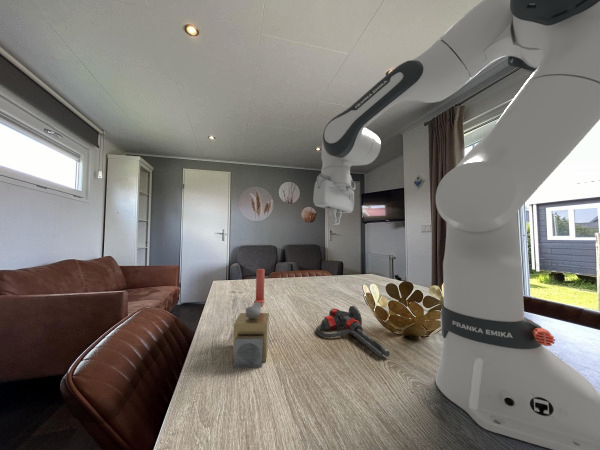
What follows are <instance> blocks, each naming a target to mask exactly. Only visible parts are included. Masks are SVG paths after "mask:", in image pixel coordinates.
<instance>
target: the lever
mask: <svg viewBox="0 0 600 450" xmlns="http://www.w3.org/2000/svg"><path fill="white" fill-rule="evenodd" d="M265 270H266V269H265V268H256V272H255V273H256V277H255V280H256V281H255V299H254V301H253V304H252V305H251V306H249V307H247V308H245V313H246V317H249V318H255V317H259V316H260V313H261V308H262V307H263V306H264V304H265V279H266V278H265V277H266V276H265V273H266V271H265Z"/></svg>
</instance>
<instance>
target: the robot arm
mask: <svg viewBox="0 0 600 450" xmlns="http://www.w3.org/2000/svg"><path fill="white" fill-rule="evenodd" d="M506 57H507V64H508V66H510V67H512V68H517V69H521V70H524V71H525V72H528V73H529V74H531V75H530V76H529V78H528V79H527V80H526V81H525V83H524V84H523V85H522V87H521V88H520V90H519V91H518V92H517V93H516V95H515V96H514V98H512V100H511V102H510V103H508V105H507V107H506V108H505V110H504V111H503V112H502V114H501V116H499V118H498V119H497V120H496V122H495V123H494V125H493V126H492V127H491V128H490V130H488V132H487V133H486V134H485V135H484V136H483V138H481V139H480V140H479V141H478V142H477V144H476V145H474V146H473V148H472V149H471V150H469V152H468V153H467V154H466V155H464V157H463V158H462V159H461V160H460V162H458V163H457V164H456V166H455V167H453V168H452V169H450V171H448V172H447V173H446V174H445V175H444V176H443V177H442V179H441V180H440V181H439V183H438V186H437V187H436V191H435V205H436V210H437V212H438V214H439V215H440V218H442V219H443V220H444V221H445V222H446V233H445V235H446V237H445V246H444V248H445V249H444V256H443V261H442V279H443V281H442V282H443V304H442V305H441V310H440V331H441V336H442V347H441V353H440V354H441V355H440V362H439V365H438V370H437V372H436V374H435V379H434V381H435V384H436V386H437V388H438V390H439V391H440V392H441V393H442V394H443V395H444V396H445V397H446V398H447V399H448V400H450V401H451V402H453V403H454V404H455V405H456V406H458V407H459V408H461V409H462V410H463V411H465V412H466V413H467V414H468V415H469V416H470V417H471V418H472V420H473V421H475V422H476V424H477V425H479V426H480V427H481V428H483V429H484V430H487V431H489V432H492V433H495V434H499V435H502V436H506V437H509V438H513V439H516V440H518V441H519V440H520V441H522V442H526V443H529V444H532V445H537V446H539V447H543V448H546V449H549V450H600V393H599V392H598V390H597V389H596V388H595V387H594V385H593V384H592V383H591V382H590V381H589V380H588V379H587V378H586V377H585V376H584V375H583V374H582V373H580V372H579V371H578V370H576V369H575V368H573V367H572V366H571V365H570V364H569V363H567V362H565V361H564V360H563V359H562V358H560V357H559V356H557V355H556V354H555V353H554V352H553V351H551V350H549V349H548V348H547V347H551V346H552V345H553V344H554V345H555V341H556V339H555V337H554V335H552V333H551V332H550V331H549V330H548V329H545V328H543V327H542V326H541V325H539V323H536V322H534V321H533V320H532V319H529V318H527V317H525V305H524V288H523V287H524V285H523V267H522V265H523V264H522V258H521V246H520V234H519V221H518V211H520V209H521V208H522V207H523V206H524V205H525V203H526V202H527V201H528V200H529V199H530V198H531V197H532V196H533V194H534V193H535V192H536V191H537V190H538V189H539V188H540V186H541V185H542V184H544V183H545V181H546V180H547V179H548V178H549V177H550V176H551V175H552V173H553V172H554V171H556V169H557V168H558V167H559V166H560V165H561V163H562V162H563V161H564V160H565V159H566V158H567V157H568V156H569V155H570V154H571V153H572V151H574V149H575V148H576V147H577V146H578V145H579V144H580V142H581V141H582V140H583V139H584V138H585V137H586V136H587V135H588V133H589V132H590V131H591V130H592V129H593V127H595V126H596V125H597V123H598V122H599V121H600V0H482V1H481V2H479V3H478V4H477V5H476V6H474V7H473V8H472V9H470V11H468V12H466V14H464V15H463V16H461V17H460V19H459V20H458V21H456V22H454V24H453V25H451V26H450V27H449V28H448V29H447V30H446V31H445V32H444V33H443V34H442V36H440V37H439V38H438V39H437V40H435V42H434V43H433V44H432V45H431V46H430V47H429V48H428V49H426V50H425V51H424V52H423V53H421V54H420V55H418V56H417V57H415V58H413V59H410V60H406V61H404V62H402V63H401V64H398V66H396V67H394V68H393V69H392V70H391V71H390V72H388V73H387V74H385V76H383V78H381V79H380V80H379V81H378V82H377V83H376V84H374V85H373V86H372V87H371V88H370V89H369V90H368V91H367V92H365V93H364V94H363V95H362V96H361V97H359V99H357V100H356V101H355V102H354V103H353V104H352V105H351V106H349V107H348V108H346V109H345V110H343V111H342V112H341V113H339V114H337V115H335V116H334V117H333V118H331V119H330V120H329V121H328V123H327V124H326V125H325V127H324V129H323V135H322V140H321V141H322V142H321V161H322V166H321V171H320V173H319V174H318V175H317V177H316V181H315V183H314V187H313V197H312V198H313V199H312V200H313V201H312V202H313V205H314V206H315V207H319V208H322V209H325V210H327V213H328V216H329V219H330V220H329V224H330V225H332V226H333V225H334V226H338V225H340V223H341V220H340V219H341V217H342V215H343V214H351V213H352V212H354V207H355V192H354V191H355V190H356V183H355V181H354V180H353V178H352V175H351V167H353V166H354V167H359V166H368V165H370V164H372V163H373V162H374V161H375V160H376V159H377V158H378V157H379V155H380V153H381V149H382V141H381V138H380V137H379V136H378V135H377V134H376V133H374V132H373V131H372V130H370V129H369V128H367V126H369V125H370V124H371V123H372V122H374V121H375V120H376V119H377V118H378V117H380V116H381V115H383V114H384V113H385V112H386V111H387V110H389V109H390V108H392V107H393V106H395V105H397V104H399V103H402V102H409V101H411V102H412V101H413V102H414V101H416V102H421V103H427V104H428V103H431V104H432V103H433V104H434V103H439V102H442V101H443V100H445V99H447V98H449V97H450V96H451V97H452V95H454V94H455V93H457V92H458V91H459V90H460V89H462V88H463V87H464V86H466V84H467V83H469V82H470V81H471V80H472V79H474V78H475V77H476V76H477V75H478V74H479V73H480V72H482V70H484V69H485V68H486V67H487V66H489V65H491V63H493V62H494V61H496V60H498V59H501V58H506Z"/></svg>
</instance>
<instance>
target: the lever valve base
mask: <svg viewBox="0 0 600 450" xmlns="http://www.w3.org/2000/svg"><path fill="white" fill-rule="evenodd" d="M269 326H270V312H260V316H259V317H255V318H249V317H246V312H240V313H239V315H238V317H237V318H236V319H235V321H234V324H233V347H232V348H233V349H232V363H233V368H234V369H235V368H262V367H263V363H265V362H266V363H267V358H268V352H269V351H268V350H269V335H270V334H269V333H270V331H269V329H270V327H269Z"/></svg>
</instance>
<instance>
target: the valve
mask: <svg viewBox="0 0 600 450" xmlns="http://www.w3.org/2000/svg"><path fill="white" fill-rule="evenodd" d="M362 319H363V317H362V314H361V312H360V311H359V308H358V307H357V306H356V305H352V306H351V305H350V306H349V307H348V311H345V310H340V309H339V308H335V307H334V308H332V309H330V310H329V314H328V316H324V319H322V320H321V324H319V325H317V327H316V329H315V331H316V333H317V335H318V336H320V337H322V338H327V339H330V338H336V337H340V336H342V335H347V334H349V335H351V336H354V337H356V338H357V339H358V340H359V341H360V342H361V343H362V344H364V345H365V346H366V347H367V348H368V349H370V351H372V352H373V353H374V354H375V355H377V356H378V357H379V358H382V357H383V356H385V357H387V358H388V357H390V351H389V350H388V349H386V348H385V347H384V346H383V345H381V344H380V343H378V342H377V341H376V340H375V339H374V338H372V337H371V336H369V335H368V334H367V333H365V332H364V331H363V326H362V325H363V320H362ZM338 327H339V328H343V327H344V328H345V329H343V330H340V331H339V330H338V331H337V332H333V333H332V332H331V333H326V332H323V331H321V329H323V330H324V329H325V330H324V331H329V330H330V331H335V330H336V328H338Z"/></svg>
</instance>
